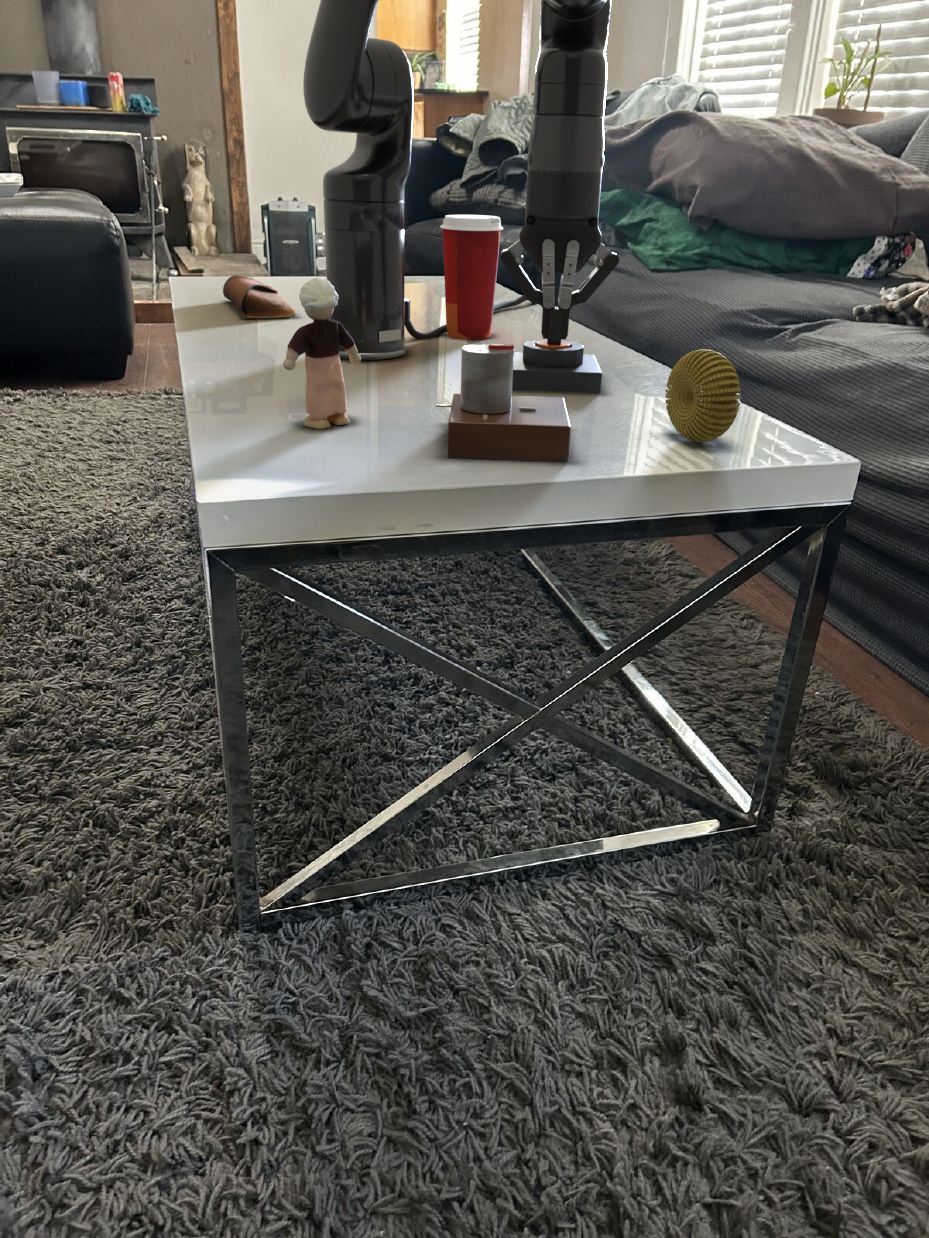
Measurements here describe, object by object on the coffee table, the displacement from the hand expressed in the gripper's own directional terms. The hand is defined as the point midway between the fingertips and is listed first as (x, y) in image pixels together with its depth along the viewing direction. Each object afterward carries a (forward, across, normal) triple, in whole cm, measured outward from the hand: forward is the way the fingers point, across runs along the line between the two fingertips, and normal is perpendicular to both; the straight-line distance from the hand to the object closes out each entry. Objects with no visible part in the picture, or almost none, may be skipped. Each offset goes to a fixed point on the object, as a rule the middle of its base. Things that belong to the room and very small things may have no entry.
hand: (553, 343), depth 104 cm
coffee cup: (+4, +10, -27) cm, 29 cm away
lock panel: (+4, +5, +25) cm, 26 cm away
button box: (+4, 0, 0) cm, 4 cm away
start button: (+2, 0, 0) cm, 2 cm away
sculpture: (+4, -12, +22) cm, 25 cm away
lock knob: (+1, +7, +25) cm, 26 cm away
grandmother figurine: (+4, +22, +21) cm, 30 cm away
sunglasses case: (+4, +43, -43) cm, 61 cm away
